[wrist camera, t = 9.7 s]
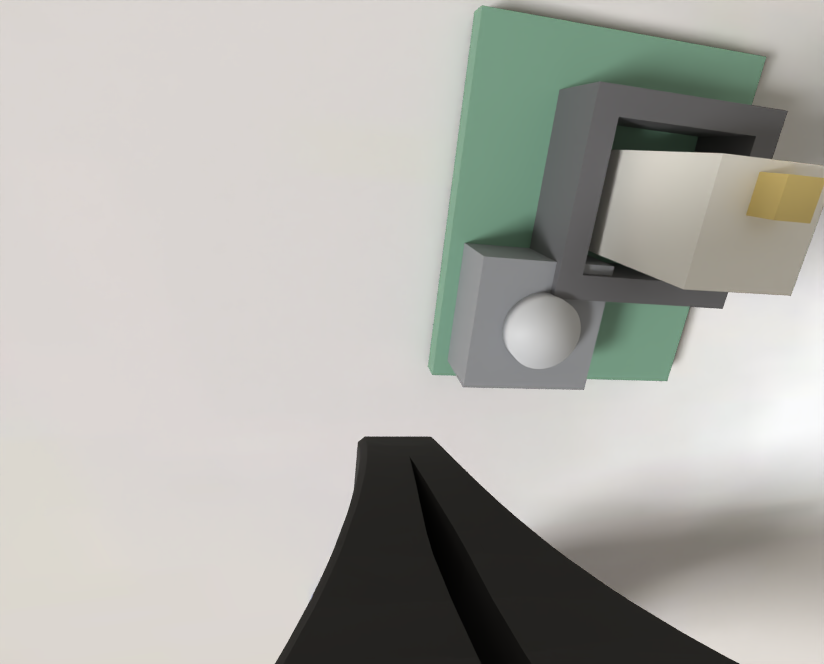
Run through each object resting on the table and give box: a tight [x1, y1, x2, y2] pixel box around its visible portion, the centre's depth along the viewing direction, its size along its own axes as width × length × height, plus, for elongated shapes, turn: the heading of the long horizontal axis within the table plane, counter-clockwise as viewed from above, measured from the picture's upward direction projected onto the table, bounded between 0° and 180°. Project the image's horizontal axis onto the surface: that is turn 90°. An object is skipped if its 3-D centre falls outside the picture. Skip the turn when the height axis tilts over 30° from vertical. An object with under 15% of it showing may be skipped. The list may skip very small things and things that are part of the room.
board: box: [428, 5, 788, 390], centre depth 17 cm, size 12×10×4 cm
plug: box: [588, 150, 824, 296], centre depth 15 cm, size 3×3×7 cm
